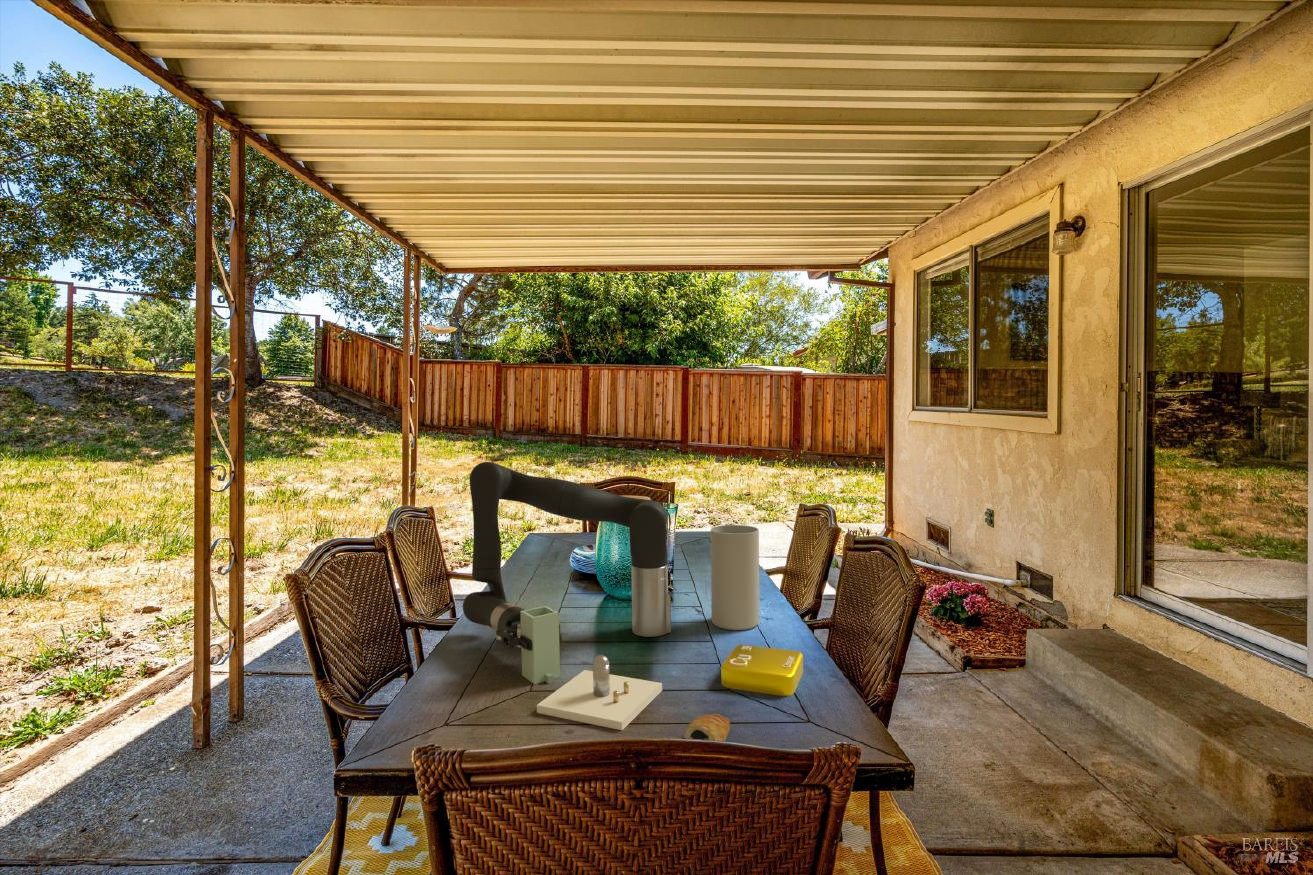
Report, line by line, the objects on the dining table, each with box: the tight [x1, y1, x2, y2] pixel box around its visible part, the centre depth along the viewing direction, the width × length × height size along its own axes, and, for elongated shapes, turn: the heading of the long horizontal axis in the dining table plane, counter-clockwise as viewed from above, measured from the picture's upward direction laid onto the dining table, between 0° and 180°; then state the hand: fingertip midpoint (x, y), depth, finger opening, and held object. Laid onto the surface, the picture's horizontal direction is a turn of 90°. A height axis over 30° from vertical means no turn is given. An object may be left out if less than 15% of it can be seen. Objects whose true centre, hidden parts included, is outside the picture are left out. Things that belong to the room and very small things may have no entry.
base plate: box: [536, 654, 663, 731], centre depth 131 cm, size 18×18×9 cm
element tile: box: [720, 644, 804, 697], centre depth 141 cm, size 15×15×5 cm
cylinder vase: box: [710, 524, 760, 631], centre depth 176 cm, size 12×12×25 cm
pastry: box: [683, 713, 731, 742], centre depth 117 cm, size 9×7×4 cm
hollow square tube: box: [520, 605, 561, 685], centre depth 142 cm, size 8×6×14 cm
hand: (545, 642), depth 141 cm, fingers closed on hollow square tube, 6 cm apart
